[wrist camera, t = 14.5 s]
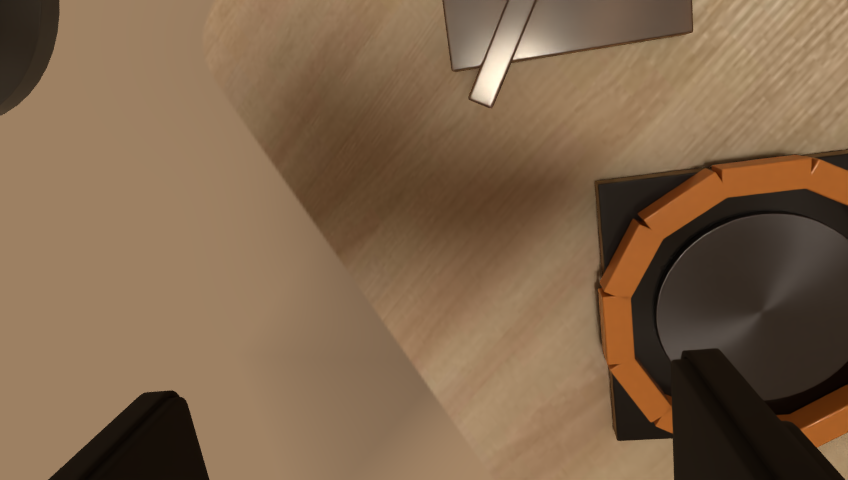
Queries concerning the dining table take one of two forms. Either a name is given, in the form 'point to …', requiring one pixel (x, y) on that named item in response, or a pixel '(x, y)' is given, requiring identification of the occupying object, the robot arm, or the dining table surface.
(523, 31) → the hanger stand
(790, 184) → the ring
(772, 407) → the hob
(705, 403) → the robot arm
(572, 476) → the dining table surface
